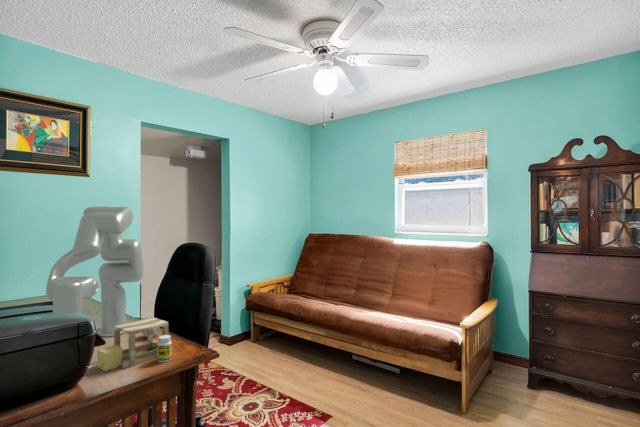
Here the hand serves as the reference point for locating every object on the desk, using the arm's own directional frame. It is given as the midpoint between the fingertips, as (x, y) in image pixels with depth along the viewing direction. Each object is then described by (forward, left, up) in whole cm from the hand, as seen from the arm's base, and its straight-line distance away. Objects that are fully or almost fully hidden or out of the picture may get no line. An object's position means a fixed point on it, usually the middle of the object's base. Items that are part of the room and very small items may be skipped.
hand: (67, 378), depth 109 cm
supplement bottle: (+10, +26, -1) cm, 28 cm away
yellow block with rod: (0, +7, -1) cm, 7 cm away
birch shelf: (0, +23, -1) cm, 24 cm away
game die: (-17, +36, -1) cm, 40 cm away
